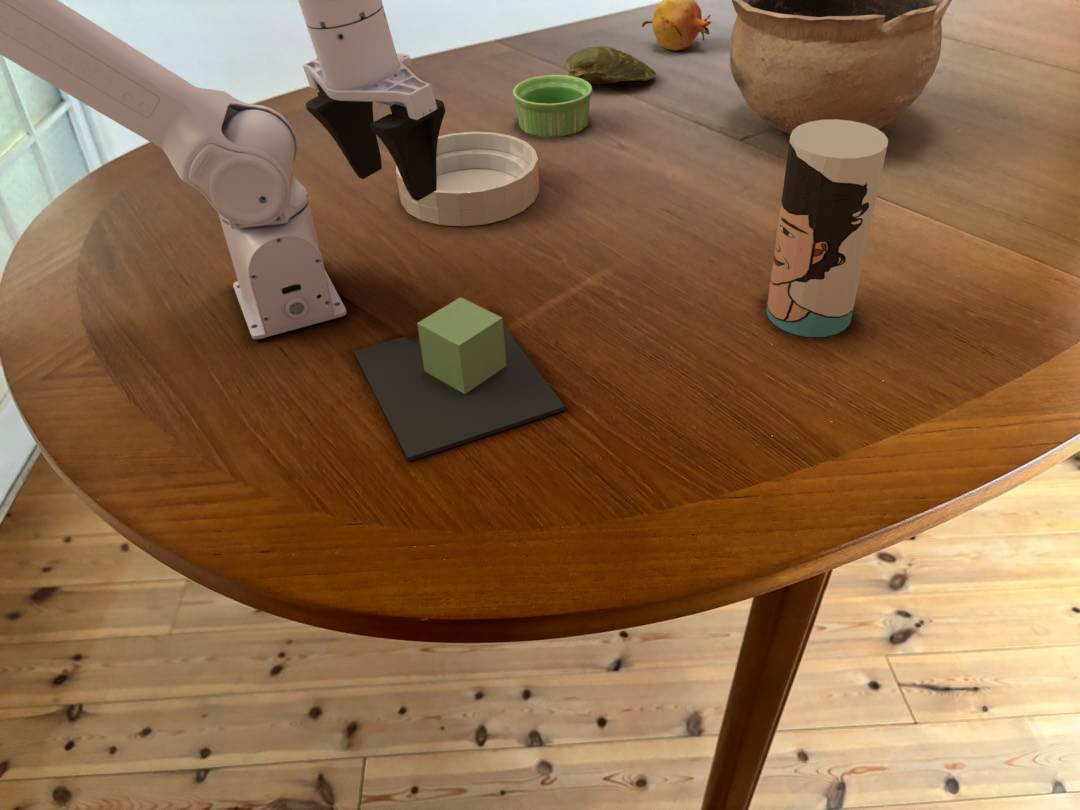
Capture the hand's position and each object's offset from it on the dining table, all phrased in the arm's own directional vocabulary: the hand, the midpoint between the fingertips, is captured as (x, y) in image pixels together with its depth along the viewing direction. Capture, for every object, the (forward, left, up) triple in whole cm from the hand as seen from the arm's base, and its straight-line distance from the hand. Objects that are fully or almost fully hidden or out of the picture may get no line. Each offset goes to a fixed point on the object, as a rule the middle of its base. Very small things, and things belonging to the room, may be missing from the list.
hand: (396, 183), depth 75 cm
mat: (-15, +2, -10) cm, 18 cm away
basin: (+13, -10, -10) cm, 19 cm away
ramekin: (+25, -25, -10) cm, 37 cm away
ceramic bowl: (+10, -51, -10) cm, 53 cm away
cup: (-20, -27, -10) cm, 35 cm away
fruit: (+41, -51, -10) cm, 67 cm away
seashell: (+34, -37, -10) cm, 52 cm away
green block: (-14, 0, -9) cm, 17 cm away
